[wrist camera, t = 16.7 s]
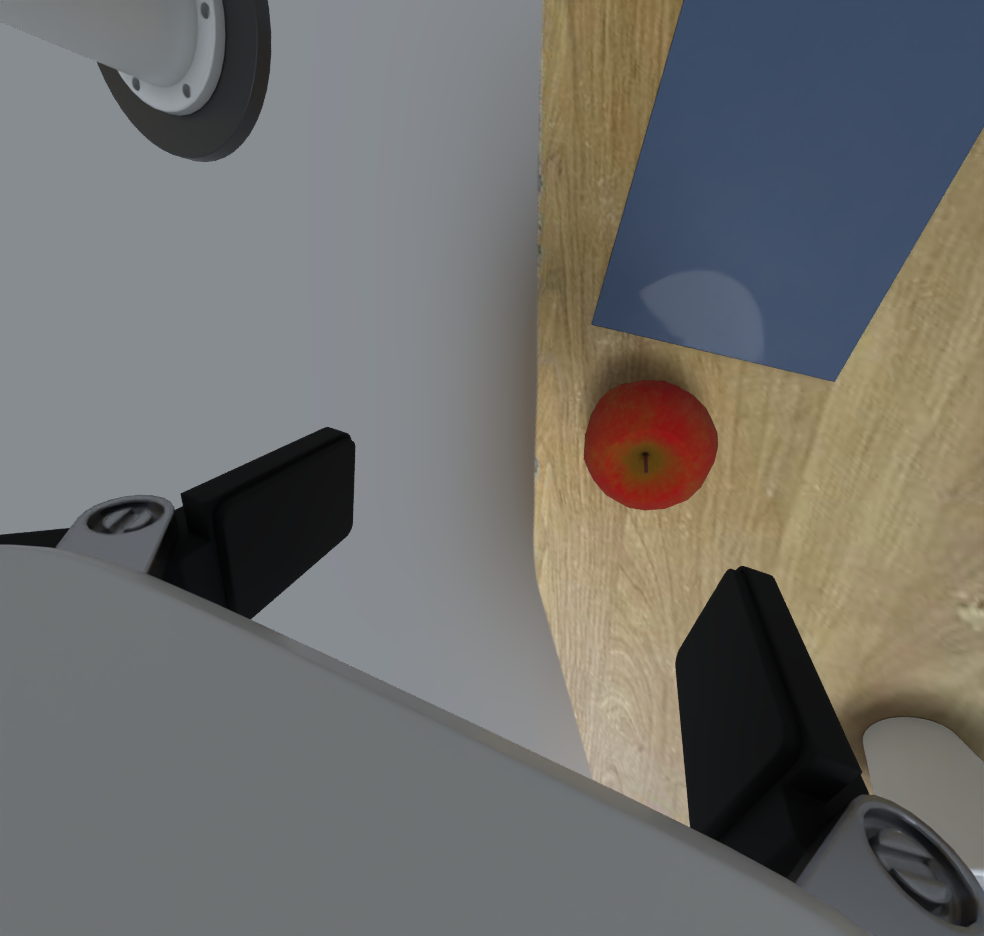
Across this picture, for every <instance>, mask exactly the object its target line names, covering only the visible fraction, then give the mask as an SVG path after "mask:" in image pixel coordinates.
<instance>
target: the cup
mask: <svg viewBox="0 0 984 936" xmlns="http://www.w3.org/2000/svg"><path fill="white" fill-rule="evenodd" d="M863 746H864V751H865V756H866V760H867V765H868V770H869V774H870V779H871V784H872V789H873V793H874V795H876V796H879V797H882V798H885V799H888V800H891V801H893V802H894V803H896V804H898V805H900V806H901V807H903V808H905V809H907V810H908V811H910V812H912V813H913V814H914V815H915V816H917V817H918V818H919V819H921V820H922V821H923V822H924V823H926V824H927V825H928V826H930V827H931V828H932V829H933V830H934V831H935V832H936V833H937V834H938V835H939V836H940V837H941V838H942V839H943V840H944V841H945V842H947V843H948V844H949V845H950V846H951V847H952V848H953V849H954V851H955V852H956V853H957V854H958V856H959V857H960V858H961V859H962V860H963V862H964V863H965V864H966V865H967V867H968V868H969V869H970V870H971V871H972V873H973V874H974V876H975V878H976V879H977V881H978V882H979V884H980V886H981V887H982V889H983V891H984V762H983V761H982V760H981V759H980V758H979V757H978V756H977V755H976V754H975V753H974V752H973V751H972V750H971V749H970V748H969V747H968V746H967V745H966V744H965V743H964V742H963V741H962V740H961V739H960V738H959V737H958V736H957V735H956V734H955V733H954V732H952V731H951V730H950V729H948V728H946V727H944V726H943V725H941V724H938V723H935V722H933V721H930V720H925V719H920V718H914V717H896V718H889V719H885V720H881V721H878V722H877V723H875V724H873V725H871V726H870V727H869V728H868V729H867V730H866V731H865V733H864V735H863Z"/></svg>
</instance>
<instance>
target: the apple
mask: <svg viewBox="0 0 984 936" xmlns="http://www.w3.org/2000/svg"><path fill="white" fill-rule="evenodd" d="M717 448H718V435H717V431H716V429H715V426H714V424H713V421H712V419H711V417H710V415H709V413H708V411H707V409H706V408H705V407H704V406H703V405H702V404H701V403H700V402H699V400H698V399H697V398H696V397H695V396H694V395H692V394H690V393H689V392H687V391H685V390H684V389H682V388H680V387H678V386H676V385H673V384H671V383H668V382H665V381H656V380H641V381H636V382H631V383H626V384H622V385H620V386H617V387H615V388H613V389H611V390H609V391H608V392H607V393H606V394H605V395H604V396H603V397H602V398H601V399H600V400H599V402H598V404H597V405H596V407H595V409H594V411H593V413H592V415H591V418H590V421H589V424H588V428H587V431H586V434H585V446H584V460H585V463H586V465H587V468H588V470H589V472H590V474H591V476H592V478H593V480H594V481H595V482H596V484H597V485H598V486H599V487H600V488H601V490H602V491H603V492H604V493H605V494H606V495H607V496H609V497H610V498H612V499H614V500H616V501H617V502H619V503H621V504H623V505H625V506H627V507H629V508H634V509H640V510H656V509H666V508H668V507H671V506H673V505H676V504H678V503H681V502H684V501H686V500H688V499H689V498H690V497H691V496H692V495H693V494H694V493H695V492H696V491H697V490H699V489H700V488H701V486H702V484H703V482H704V481H705V479H706V477H707V475H708V473H709V471H710V469H711V467H712V465H713V464H714V462H715V457H716V453H717Z"/></svg>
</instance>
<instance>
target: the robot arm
mask: <svg viewBox="0 0 984 936" xmlns="http://www.w3.org/2000/svg"><path fill="white" fill-rule="evenodd" d="M0 22H2V23H5V24H7V25H10V26H12V27H14V28H17V29H19V30H22V31H24V32H26V33H29V34H31V35H34V36H36V37H39V38H41V39H43V40H46V41H48V42H51V43H53V44H56V45H58V46H60V47H63V48H65V49H68V50H70V51H72V52H75V53H77V54H80V55H82V56H85V57H87V58H89V59H92V60H95V61H97V62H99V63H102V64H104V65H106V66H109V67H111V68H114V69H116V70H117V71H118V72H119V74H120V75H121V77H122V79H123V80H124V81H125V83H126V84H127V85H128V86H129V88H130V89H131V90H132V91H133V92H134V93H135V94H136V95H137V96H138V97H139V98H140V99H141V100H142V101H144V102H145V103H147V104H148V105H150V106H152V107H153V108H155V109H158V110H160V111H163V112H166V113H168V114H172V115H179V116H182V115H188V114H192V113H194V112H195V111H197V110H199V109H201V107H202V106H203V105H204V104H205V103H206V102H207V101H208V100H209V99H210V97H211V95H212V93H213V92H214V90H215V88H216V86H217V83H218V80H219V77H220V74H221V71H222V65H223V60H224V54H225V37H226V33H225V16H224V8H223V2H222V0H0ZM354 471H355V443H354V442H353V441H352V440H351V437H350V435H349V434H348V433H345V432H342V431H339V430H336V429H333V428H329V427H325V428H323V429H321V430H318V431H316V432H314V433H312V434H310V435H307V436H305V437H303V438H301V439H299V440H297V441H295V442H292V443H290V444H288V445H286V446H283V447H281V448H279V449H277V450H275V451H273V452H270V453H268V454H266V455H264V456H262V457H259V458H257V459H255V460H253V461H251V462H249V463H246V464H244V465H242V466H240V467H238V468H235V469H233V470H231V471H229V472H227V473H225V474H222V475H220V476H218V477H216V478H214V479H211V480H209V481H207V482H205V483H203V484H201V485H198V486H196V487H194V488H192V489H190V490H187V491H185V492H183V493H181V498H182V503H183V506H182V507H180V508H178V509H176V510H175V509H174V506H173V505H172V504H171V502H170V501H168V500H166V499H165V498H162V497H157V496H153V495H135V496H125V497H120V498H116V499H112V500H108V501H106V502H103V503H100V504H98V505H95V506H94V507H92V508H90V509H88V510H86V511H85V512H84V513H83V514H82V515H80V516H79V517H78V518H77V520H76V521H75V522H74V524H73V525H72V526H71V528H66V529H55V530H45V531H36V532H24V533H14V534H4V535H0V936H984V891H983V889H982V887H981V886H980V884H979V882H978V881H977V879H976V878H975V876H974V874H973V873H972V871H971V870H970V869H969V868H968V867H967V865H966V864H965V863H964V862H963V860H962V859H961V858H960V857H959V856H958V854H957V853H956V852H955V851H954V849H953V848H952V847H951V846H950V845H949V844H948V843H947V842H945V841H944V840H943V839H942V838H941V837H940V836H939V835H938V834H937V833H936V832H935V831H934V830H933V829H932V828H931V827H930V826H928V825H927V824H926V823H924V822H923V821H922V820H921V819H919V818H918V817H917V816H915V815H914V814H913V813H912V812H910V811H908V810H907V809H905V808H903V807H901V806H900V805H898V804H896V803H894V802H893V801H891V800H888V799H885V798H882V797H879V796H876V795H869V792H868V790H867V788H866V786H865V783H864V781H863V779H862V777H861V775H860V774H861V773H862V771H861V768H860V766H859V764H858V762H857V760H856V757H855V755H854V753H853V751H852V749H851V746H850V744H849V742H848V740H847V738H846V735H845V733H844V731H843V729H842V726H841V724H840V722H839V720H838V718H837V715H836V713H835V711H834V709H833V707H832V704H831V702H830V700H829V698H828V696H827V693H826V691H825V689H824V687H823V685H822V682H821V680H820V678H819V676H818V674H817V671H816V669H815V667H814V665H813V663H812V660H811V658H810V656H809V654H808V652H807V649H806V647H805V645H804V643H803V641H802V638H801V636H800V634H799V632H798V629H797V627H796V625H795V623H794V621H793V618H792V616H791V614H790V612H789V610H788V607H787V605H786V603H785V601H784V599H783V596H782V594H781V592H780V590H779V588H778V585H777V583H776V581H775V579H774V578H773V576H771V575H769V574H766V573H763V572H760V571H757V570H754V569H751V568H748V567H745V566H740V567H739V568H737V569H736V570H733V569H729V570H727V571H726V573H725V574H724V576H723V577H722V579H721V581H720V582H719V584H718V586H717V587H716V589H715V591H714V592H713V594H712V596H711V597H710V599H709V601H708V602H707V604H706V606H705V607H704V609H703V611H702V612H701V614H700V616H699V617H698V619H697V621H696V622H695V624H694V626H693V627H692V629H691V631H690V632H689V634H688V636H687V637H686V639H685V641H684V642H683V644H682V646H681V647H680V649H679V651H678V654H677V657H676V663H675V666H676V678H677V689H678V700H679V711H680V722H681V733H682V744H683V755H684V765H685V776H686V787H687V798H688V809H689V820H690V827H688V826H686V825H684V824H682V823H680V822H678V821H676V820H674V819H672V818H669V817H667V816H665V815H663V814H661V813H659V812H657V811H655V810H653V809H651V808H649V807H647V806H645V805H643V804H641V803H639V802H637V801H635V800H633V799H631V798H629V797H627V796H625V795H623V794H621V793H619V792H617V791H615V790H612V789H610V788H608V787H606V786H604V785H602V784H600V783H598V782H596V781H594V780H591V779H589V778H587V777H585V776H583V775H581V774H579V773H576V772H574V771H572V770H570V769H568V768H566V767H564V766H562V765H560V764H558V763H555V762H553V761H551V760H549V759H547V758H545V757H543V756H541V755H539V754H537V753H534V752H532V751H530V750H528V749H526V748H524V747H522V746H520V745H518V744H516V743H513V742H511V741H509V740H507V739H505V738H503V737H501V736H499V735H496V734H494V733H492V732H490V731H488V730H486V729H484V728H482V727H480V726H477V725H476V724H473V723H471V722H469V721H467V720H465V719H463V718H460V717H458V716H456V715H454V714H452V713H450V712H448V711H446V710H444V709H441V708H439V707H437V706H435V705H433V704H431V703H428V702H426V701H424V700H422V699H420V698H418V697H416V696H414V695H411V694H409V693H407V692H405V691H403V690H401V689H398V688H396V687H394V686H392V685H390V684H388V683H386V682H384V681H382V680H379V679H377V678H375V677H373V676H371V675H369V674H367V673H364V672H362V671H360V670H358V669H356V668H354V667H352V666H349V665H347V664H345V663H343V662H341V661H339V660H337V659H334V658H332V657H330V656H328V655H326V654H324V653H322V652H319V651H317V650H315V649H313V648H311V647H308V646H306V645H304V644H302V643H300V642H298V641H296V640H293V639H291V638H289V637H287V636H285V635H283V634H280V633H278V632H276V631H274V630H272V629H269V628H267V627H265V626H263V625H261V624H259V623H256V622H254V621H252V620H250V619H252V618H253V617H254V616H255V615H256V614H257V613H259V612H260V611H261V610H262V609H263V608H264V607H266V606H267V605H268V604H269V603H270V602H271V601H273V600H274V599H275V598H276V597H277V596H278V595H279V594H281V593H282V592H283V591H284V590H285V589H286V588H288V587H289V586H290V585H291V584H292V583H293V582H294V581H296V580H297V579H298V578H299V577H300V576H302V575H303V574H304V573H305V572H306V571H307V570H308V569H310V568H311V567H312V566H313V565H314V564H315V563H317V562H318V561H319V560H320V559H321V558H322V557H324V556H325V555H326V554H327V553H328V552H329V551H330V550H332V549H333V547H335V546H336V545H337V544H339V543H340V542H341V541H342V540H343V539H344V538H346V536H348V534H349V533H350V531H351V529H352V525H353V502H354Z"/></svg>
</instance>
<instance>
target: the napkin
mask: <svg viewBox="0 0 984 936" xmlns="http://www.w3.org/2000/svg"><path fill="white" fill-rule="evenodd" d="M983 127H984V0H684V2H683V6H682V9H681V13H680V16H679V20H678V23H677V27H676V30H675V34H674V37H673V41H672V44H671V48H670V51H669V55H668V58H667V62H666V65H665V69H664V72H663V76H662V79H661V83H660V86H659V90H658V93H657V97H656V100H655V104H654V107H653V111H652V114H651V118H650V121H649V125H648V128H647V132H646V135H645V139H644V142H643V146H642V149H641V153H640V156H639V160H638V163H637V167H636V170H635V174H634V177H633V181H632V184H631V188H630V191H629V195H628V198H627V202H626V206H625V209H624V213H623V216H622V220H621V223H620V227H619V230H618V234H617V237H616V241H615V244H614V248H613V251H612V255H611V258H610V262H609V265H608V269H607V272H606V276H605V279H604V283H603V286H602V290H601V293H600V297H599V300H598V304H597V307H596V311H595V314H594V318H593V321H592V325H596V326H600V327H605V328H609V329H613V330H617V331H622V332H626V333H630V334H634V335H638V336H643V337H647V338H651V339H655V340H660V341H664V342H668V343H672V344H677V345H681V346H685V347H689V348H694V349H698V350H702V351H706V352H710V353H715V354H719V355H723V356H727V357H732V358H736V359H740V360H744V361H749V362H753V363H757V364H761V365H766V366H770V367H774V368H778V369H782V370H787V371H791V372H795V373H799V374H804V375H808V376H812V377H816V378H821V379H825V380H829V381H833V382H835V380H836V379H837V377H838V375H839V373H840V372H841V370H842V368H843V367H844V365H845V363H846V362H847V360H848V358H849V356H850V355H851V353H852V351H853V350H854V348H855V346H856V344H857V343H858V341H859V339H860V338H861V336H862V334H863V332H864V331H865V329H866V327H867V326H868V324H869V322H870V320H871V319H872V317H873V315H874V314H875V312H876V310H877V308H878V307H879V305H880V303H881V302H882V300H883V298H884V297H885V295H886V293H887V291H888V290H889V288H890V286H891V285H892V283H893V281H894V279H895V278H896V276H897V274H898V273H899V271H900V269H901V267H902V266H903V264H904V262H905V261H906V259H907V257H908V255H909V254H910V252H911V250H912V249H913V247H914V245H915V244H916V242H917V240H918V238H919V237H920V235H921V233H922V232H923V230H924V228H925V226H926V225H927V223H928V221H929V220H930V218H931V216H932V214H933V213H934V211H935V209H936V208H937V206H938V204H939V202H940V201H941V199H942V197H943V196H944V194H945V192H946V190H947V189H948V187H949V185H950V184H951V182H952V180H953V179H954V177H955V175H956V173H957V172H958V170H959V168H960V167H961V165H962V163H963V161H964V160H965V158H966V156H967V155H968V153H969V151H970V149H971V148H972V146H973V144H974V143H975V141H976V139H977V137H978V136H979V134H980V132H981V131H982V129H983Z"/></svg>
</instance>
